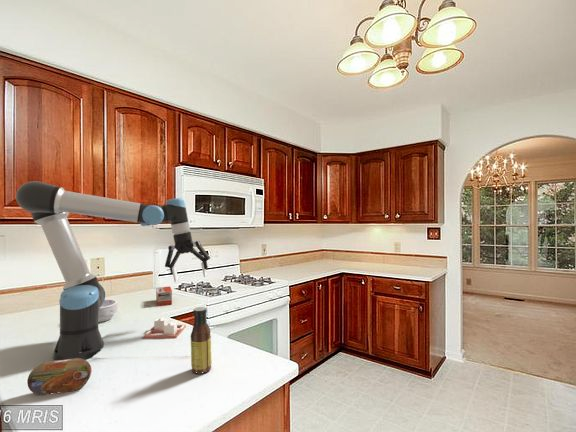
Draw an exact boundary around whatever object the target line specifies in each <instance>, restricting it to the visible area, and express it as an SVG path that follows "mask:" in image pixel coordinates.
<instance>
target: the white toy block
mask: <svg viewBox="0 0 576 432" xmlns="http://www.w3.org/2000/svg"><path fill="white" fill-rule="evenodd" d="M167 322H168V317H164V316H160V317H157V318H156V319H155V320H154V322H153V323H154V325H153V327H154V330H164V325H165V324H166V323H167Z"/></svg>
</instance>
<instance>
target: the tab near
mask: <svg viewBox="0 0 576 432" xmlns="http://www.w3.org/2000/svg"><path fill="white" fill-rule="evenodd" d="M177 325H178V321H173V320H171V321H167V323H166V324H165V325H164V333H163V335H175V333H176V332H177V330H178V328H177Z"/></svg>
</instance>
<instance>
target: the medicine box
mask: <svg viewBox="0 0 576 432" xmlns="http://www.w3.org/2000/svg"><path fill="white" fill-rule="evenodd" d="M155 292H156V294H155V296H156V298H155V299H156V300H155V302H156V307H163V306H172V304H173V290H172V287H171V286H159V287H156V289H155Z"/></svg>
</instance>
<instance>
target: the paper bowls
mask: <svg viewBox="0 0 576 432" xmlns="http://www.w3.org/2000/svg"><path fill="white" fill-rule="evenodd" d="M118 305H119V304H118V301H117V300H115V299H105V300H104V302H103V304H102V306H101V307H100V308H99V311H98V323H103V322H106V321H109V320H112V318H113V316H114V315H115V314H116V313H118V307H119V306H118Z"/></svg>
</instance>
